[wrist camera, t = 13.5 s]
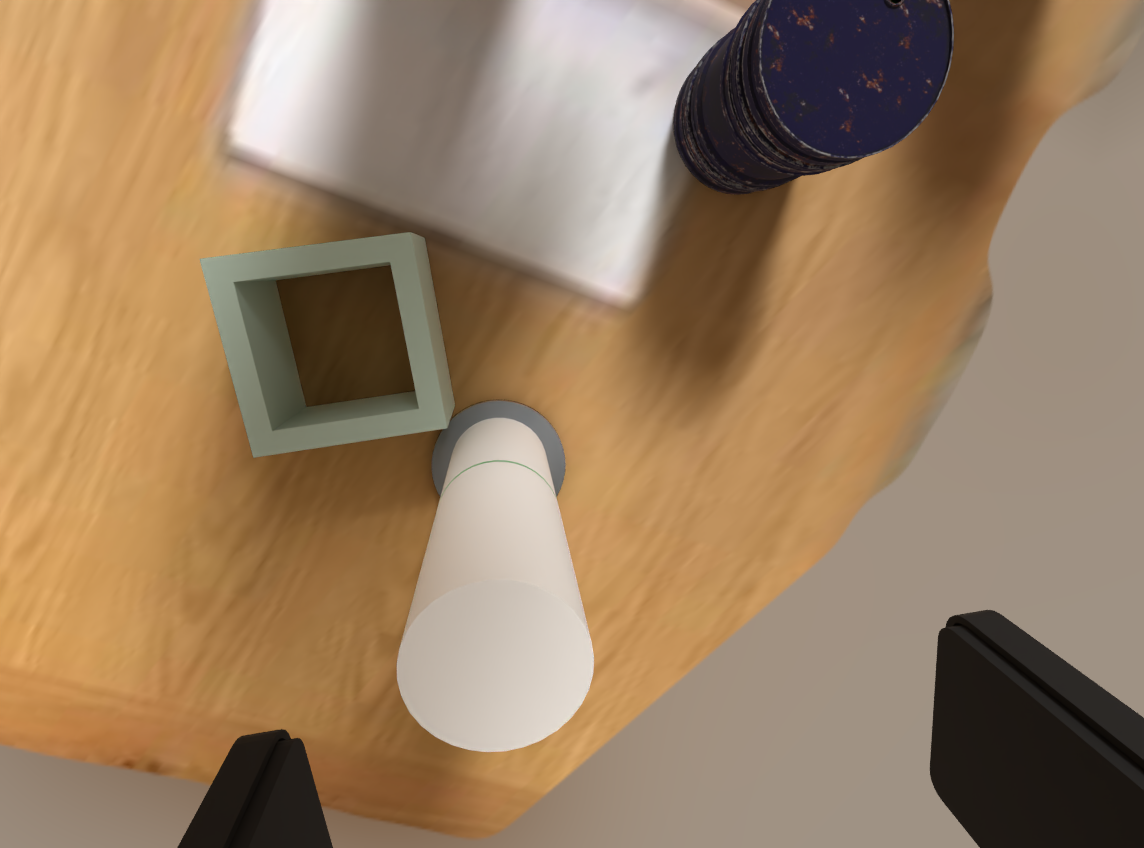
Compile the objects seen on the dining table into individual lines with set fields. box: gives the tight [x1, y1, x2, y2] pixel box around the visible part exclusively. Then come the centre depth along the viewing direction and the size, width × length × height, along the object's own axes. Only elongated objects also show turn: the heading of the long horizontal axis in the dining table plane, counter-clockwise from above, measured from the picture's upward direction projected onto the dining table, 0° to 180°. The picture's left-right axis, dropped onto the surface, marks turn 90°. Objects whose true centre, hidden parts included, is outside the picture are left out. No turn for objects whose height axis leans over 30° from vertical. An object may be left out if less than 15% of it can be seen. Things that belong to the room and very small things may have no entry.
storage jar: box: [673, 0, 954, 195], centre depth 37 cm, size 10×10×15 cm
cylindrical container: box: [397, 418, 594, 752], centre depth 35 cm, size 7×7×25 cm
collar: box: [200, 232, 455, 458], centre depth 41 cm, size 12×12×7 cm
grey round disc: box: [432, 400, 565, 497], centre depth 47 cm, size 10×10×1 cm
